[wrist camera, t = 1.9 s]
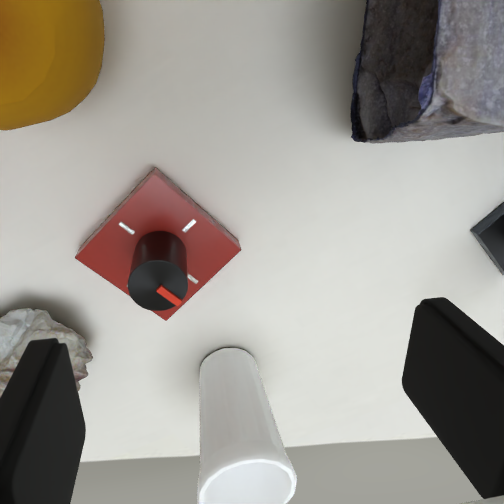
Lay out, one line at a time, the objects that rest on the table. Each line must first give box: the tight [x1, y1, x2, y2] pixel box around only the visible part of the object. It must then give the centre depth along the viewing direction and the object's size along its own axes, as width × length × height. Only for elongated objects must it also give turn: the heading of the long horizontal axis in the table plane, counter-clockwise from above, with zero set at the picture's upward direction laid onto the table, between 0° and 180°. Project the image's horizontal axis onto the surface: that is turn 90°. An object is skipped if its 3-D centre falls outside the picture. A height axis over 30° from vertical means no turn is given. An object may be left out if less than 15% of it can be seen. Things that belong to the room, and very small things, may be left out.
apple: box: [0, 0, 105, 130], centre depth 23 cm, size 11×11×13 cm
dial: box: [128, 231, 188, 311], centre depth 33 cm, size 4×4×6 cm
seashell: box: [0, 308, 93, 397], centre depth 36 cm, size 14×9×10 cm
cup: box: [197, 348, 297, 504], centre depth 38 cm, size 8×8×14 cm
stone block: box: [351, 0, 504, 143], centre depth 26 cm, size 17×12×15 cm
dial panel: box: [75, 167, 241, 321], centre depth 36 cm, size 10×10×2 cm
